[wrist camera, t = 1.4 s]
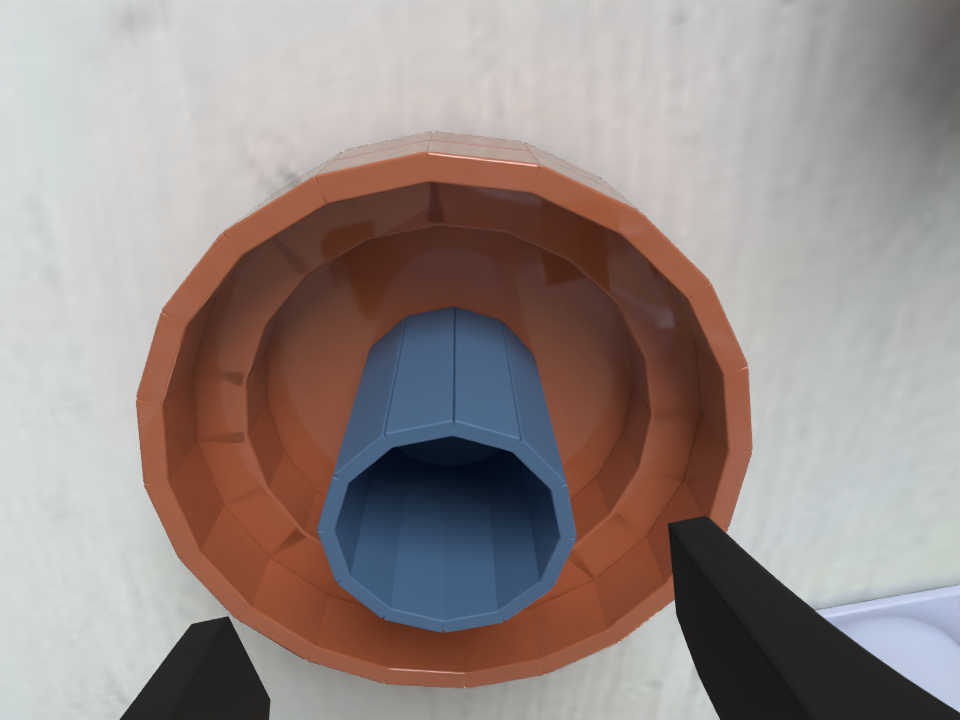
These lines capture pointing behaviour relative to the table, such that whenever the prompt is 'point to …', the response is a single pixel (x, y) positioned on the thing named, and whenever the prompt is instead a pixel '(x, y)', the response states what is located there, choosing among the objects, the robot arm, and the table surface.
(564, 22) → the table surface
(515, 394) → the blue cup
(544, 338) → the bowl
